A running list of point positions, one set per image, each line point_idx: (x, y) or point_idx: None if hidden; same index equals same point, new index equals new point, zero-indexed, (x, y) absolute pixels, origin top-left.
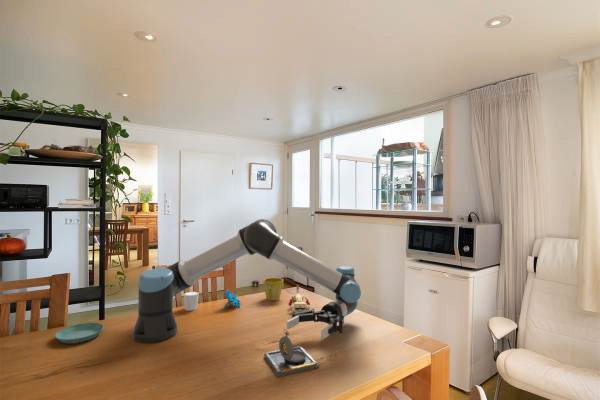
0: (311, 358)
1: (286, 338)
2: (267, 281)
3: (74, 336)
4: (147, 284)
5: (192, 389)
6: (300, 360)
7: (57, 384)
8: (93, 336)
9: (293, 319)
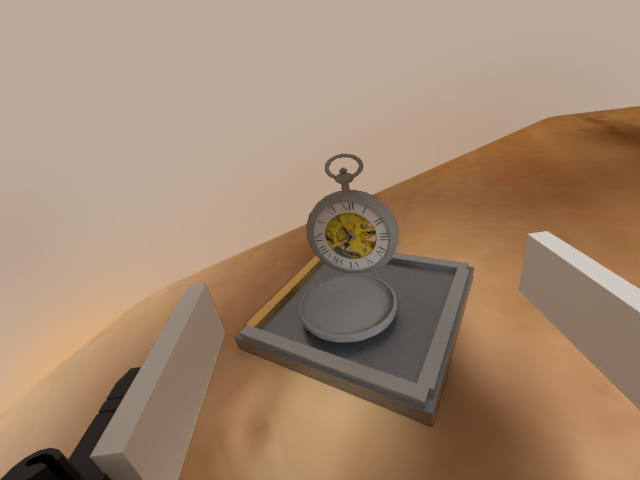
0: (279, 340)
1: (340, 191)
2: None
3: None
4: None
5: (422, 180)
6: (304, 295)
7: (552, 126)
8: None
9: (588, 280)
